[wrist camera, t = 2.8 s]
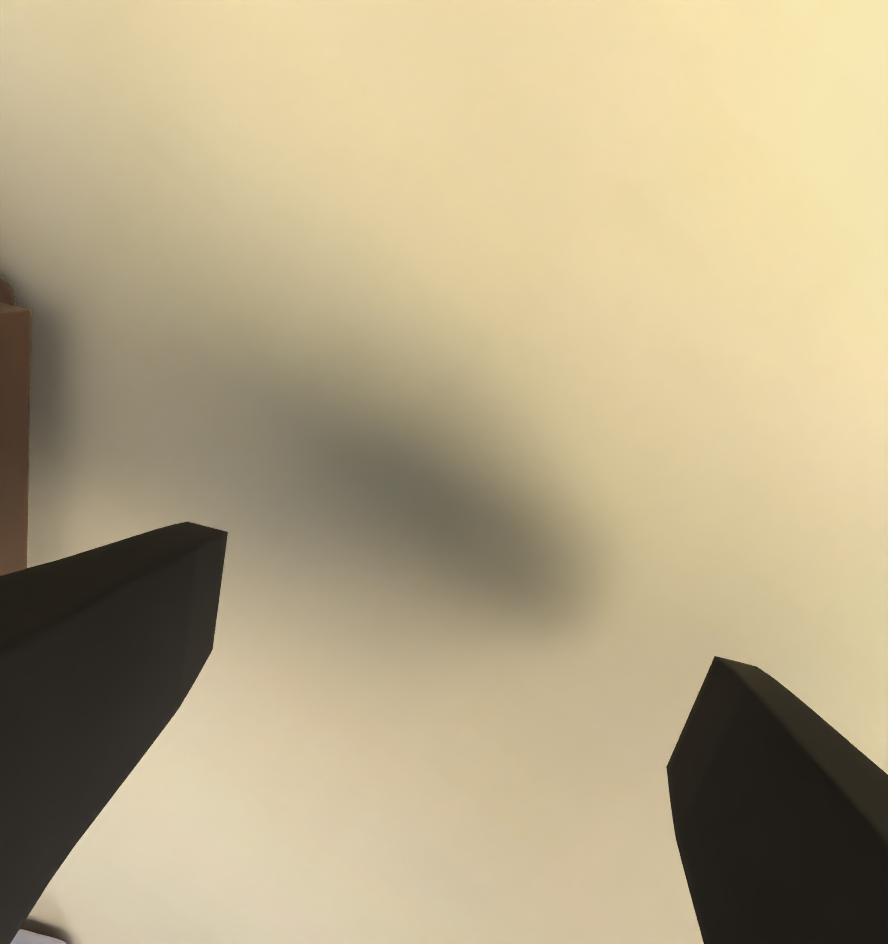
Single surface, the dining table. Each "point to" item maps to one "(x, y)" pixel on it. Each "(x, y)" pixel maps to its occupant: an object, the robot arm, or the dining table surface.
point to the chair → (14, 430)
